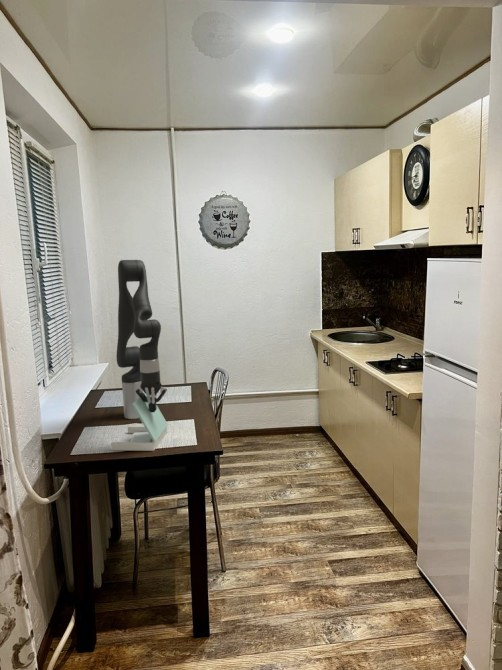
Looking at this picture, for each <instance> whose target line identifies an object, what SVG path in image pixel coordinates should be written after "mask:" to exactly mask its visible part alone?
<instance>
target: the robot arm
mask: <svg viewBox="0 0 502 670" xmlns="http://www.w3.org/2000/svg"><path fill="white" fill-rule="evenodd" d="M117 275H118V276H117V279H118V281H117V282H118V308H117V309H118V310H117V311H118V312H117V324H118V325H117V327H118V328H117V332H118V333H117V334H118V335H117V346H116V355H115V356H116V358H115V359H116V364H117V366H118V367H119V368H122V369H123V368H131V367H132V368H131V369H130V370H129V371H126V372H125V373H124V374H122V375H121V385H122V386H121V388H122V403H123V415H124V416H123V417H124V418H125V419H128V420H136V419H140V418H139V416H138V414H137V413H136V411H135V409H134V408H133V406H132V404H133V403H134V402H135V401H136V400H137V399H138V398H141V399H142V400H143V401H144V402H147V403H148V406H149V411H150V412H155V411H156V409H157V406H158V405H157V403H159V402H160V401H161V400H162V398H163V397H164V396H165V394H166V393H167V392H168V389H167V388H165V387H163V385H162V383H161V370H160V361H159V351H158V347H159V341H160V340H159V339H160V336H161V332H162V331H161V330H162V325H161V322H160V321H159V320H157V319H151V318H152V316H153V309H152V306H151V302H150V301H151V300H150V298H149V287H148V280H147V279H148V278H147V276H148V275H147V269H146V266H145V262H144V261H143V260H141V259H121V260H120V261H119V262H118V267H117ZM129 282H131V283H132V282H134V283H135V282H138V287H137V289H136V290H135V292H134V293H133V294H134V295H133V296H132V294H131V293H130V291H129V289H128V285H127V284H128V283H129ZM132 335H134V336H135V337H136V338H138V339H150V340H149V341H148V342H146V343H142V344H141V345H139V346H137V345H136V346H135V345H134V346H133V345H132V346H127V345H128V343H129V340H130V338H131V336H132ZM159 391H160V393H159ZM144 393H145V394H146V395H145V394H144ZM158 393H159V395H158ZM156 405H157V406H156Z"/></svg>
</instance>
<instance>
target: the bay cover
mask: <svg viewBox="0 0 502 670" xmlns="http://www.w3.org/2000/svg"><path fill="white" fill-rule="evenodd" d="M143 393H144V392H143ZM144 394H145V393H144ZM145 395H146V394H145ZM132 406H133V408H134V409H135V411H136V413H137V414H138V416H139V418H138V419H139V420H140V421H141V423H142V426H145V428H146V430H147V432H148V433H149V435H150V437H151V438H152V439H151V441H153V442H155V441H156V440H157V439H158V437H159V436H160V435H161V434H162V432H163V431H164V430H165V429H166V427H167V428H168V426H169V424H168V422H167V420H166V419H165V417H164V415H163V413H162V412H161V410H160V408H159V406H158V405H157V404H156V406H157V409H156V411H155V412H150V411H149V406H148V403H147V402H144V401H143V400H142V399H141V398H138V399H137V400H136V401H135V402H134V403H133V404H132Z"/></svg>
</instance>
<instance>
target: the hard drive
mask: <svg viewBox="0 0 502 670" xmlns="http://www.w3.org/2000/svg"><path fill="white" fill-rule="evenodd" d="M129 442H152V438H151V437H150V435H149V433H148V432H139V433H132V436H131V438H130V440H129Z"/></svg>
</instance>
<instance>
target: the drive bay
mask: <svg viewBox="0 0 502 670" xmlns="http://www.w3.org/2000/svg"><path fill="white" fill-rule="evenodd" d="M139 432H147V430H146V428H145V426H144V425H127V434H134V433H139ZM167 434H168V426H167V427H166V429H165V430H164V431H163V432H162V434H161V435H160V436H159V437H158V439H157V440H156V441H155V442H153V440H151V442H130V441H111V442H110V447H111V451H149V452H151V451H152V452H154V451H155V450H156V449H157V447H158V446H159V445H160V444H161V442H162V441H163V440H164V438H166V437H165V436H166V435H167Z"/></svg>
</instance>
